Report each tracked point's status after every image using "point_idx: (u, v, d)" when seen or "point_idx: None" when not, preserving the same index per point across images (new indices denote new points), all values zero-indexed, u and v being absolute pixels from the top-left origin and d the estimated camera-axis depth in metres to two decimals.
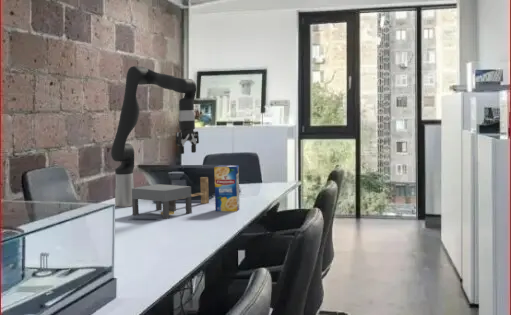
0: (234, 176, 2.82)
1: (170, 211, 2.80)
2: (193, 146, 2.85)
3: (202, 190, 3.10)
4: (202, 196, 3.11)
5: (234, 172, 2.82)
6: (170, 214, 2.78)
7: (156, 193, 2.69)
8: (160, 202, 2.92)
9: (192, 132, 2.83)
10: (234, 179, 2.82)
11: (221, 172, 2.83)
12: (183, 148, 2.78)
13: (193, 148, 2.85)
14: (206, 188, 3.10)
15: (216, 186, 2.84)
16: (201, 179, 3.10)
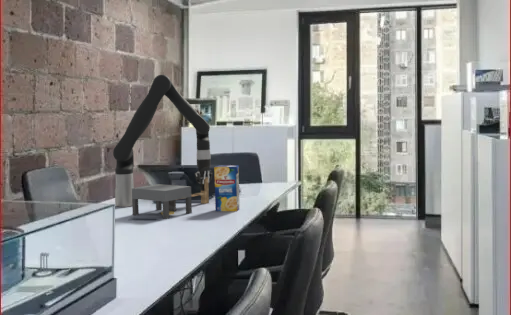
0: (234, 176, 2.82)
1: (170, 211, 2.80)
2: None
3: None
4: (202, 196, 3.11)
5: (234, 172, 2.82)
6: (170, 214, 2.78)
7: (156, 193, 2.69)
8: (160, 202, 2.92)
9: (208, 169, 3.12)
10: (234, 179, 2.82)
11: (221, 172, 2.83)
12: (203, 185, 3.09)
13: None
14: (206, 188, 3.10)
15: (216, 186, 2.84)
16: (201, 179, 3.10)
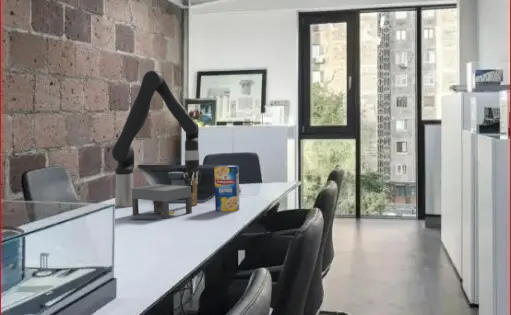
0: (234, 176, 2.82)
1: (170, 211, 2.80)
2: None
3: None
4: None
5: (234, 172, 2.82)
6: (170, 214, 2.78)
7: (156, 193, 2.69)
8: None
9: (197, 169, 3.05)
10: (234, 179, 2.82)
11: (221, 172, 2.83)
12: (192, 187, 3.02)
13: None
14: (194, 189, 3.03)
15: (216, 186, 2.84)
16: None
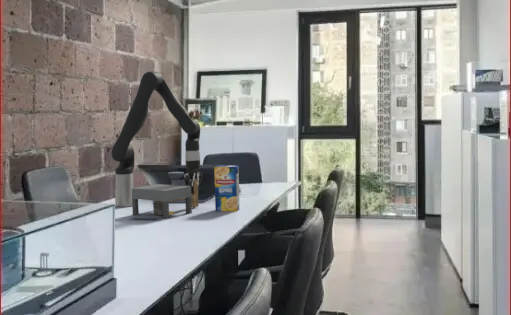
0: (234, 176, 2.82)
1: (170, 211, 2.80)
2: None
3: (191, 193, 2.96)
4: (191, 199, 2.96)
5: (234, 172, 2.82)
6: (170, 214, 2.78)
7: (156, 193, 2.69)
8: None
9: (198, 170, 2.98)
10: (234, 179, 2.82)
11: (221, 172, 2.83)
12: (193, 188, 2.94)
13: None
14: (195, 191, 2.96)
15: (216, 186, 2.84)
16: None
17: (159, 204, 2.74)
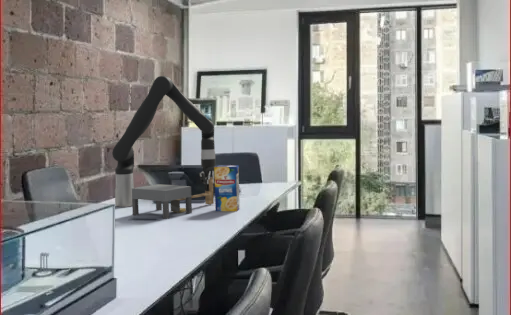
0: (234, 176, 2.82)
1: (182, 208, 2.87)
2: None
3: None
4: (207, 197, 3.04)
5: (234, 172, 2.82)
6: (182, 211, 2.85)
7: (156, 193, 2.69)
8: (160, 202, 2.92)
9: (213, 169, 3.06)
10: (234, 179, 2.82)
11: (221, 172, 2.83)
12: (208, 186, 3.03)
13: None
14: (211, 188, 3.04)
15: (216, 186, 2.84)
16: (206, 179, 3.04)
17: (176, 201, 2.82)
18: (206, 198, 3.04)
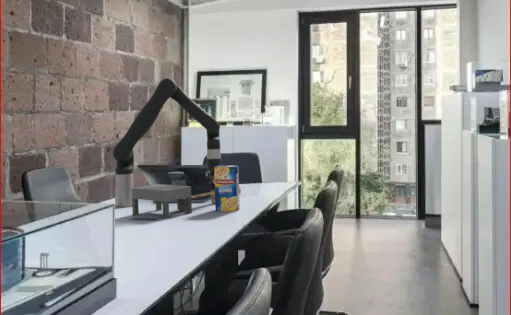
0: (234, 176, 2.82)
1: None
2: None
3: (212, 190, 3.08)
4: (212, 196, 3.08)
5: (234, 172, 2.82)
6: None
7: (156, 193, 2.69)
8: (160, 202, 2.92)
9: None
10: (234, 179, 2.82)
11: (221, 172, 2.83)
12: (214, 185, 3.07)
13: None
14: None
15: (216, 186, 2.84)
16: None
17: (183, 200, 2.86)
18: (212, 197, 3.09)
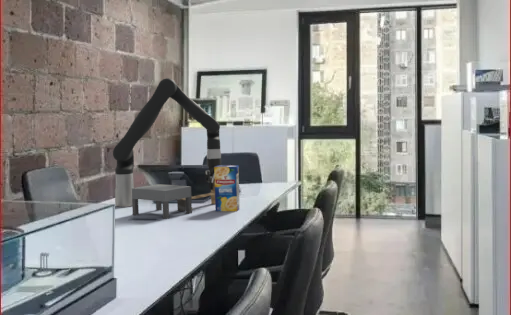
0: (234, 176, 2.82)
1: None
2: None
3: (212, 190, 3.08)
4: (212, 196, 3.08)
5: (234, 172, 2.82)
6: None
7: (156, 193, 2.69)
8: (160, 202, 2.92)
9: None
10: (234, 179, 2.82)
11: (221, 172, 2.83)
12: (212, 184, 3.06)
13: None
14: None
15: (216, 186, 2.84)
16: None
17: (183, 201, 2.86)
18: (212, 198, 3.09)
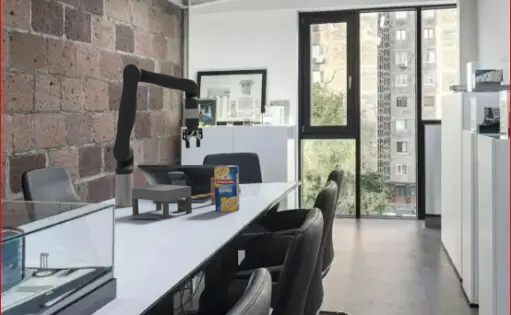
0: (234, 176, 2.82)
1: None
2: (198, 141, 3.13)
3: (212, 190, 3.08)
4: (212, 196, 3.08)
5: (234, 172, 2.82)
6: None
7: (156, 193, 2.69)
8: (160, 202, 2.92)
9: (197, 128, 3.11)
10: (234, 179, 2.82)
11: (221, 172, 2.83)
12: (189, 143, 3.06)
13: (198, 143, 3.13)
14: None
15: (216, 186, 2.84)
16: (211, 179, 3.08)
17: (183, 201, 2.86)
18: (212, 198, 3.09)
